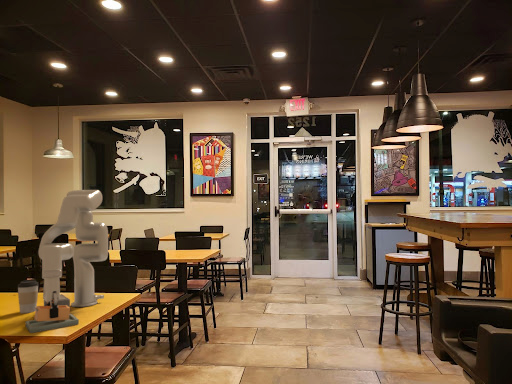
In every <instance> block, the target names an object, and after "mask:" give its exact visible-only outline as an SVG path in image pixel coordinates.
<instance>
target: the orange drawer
mask: <svg viewBox="0 0 512 384" xmlns="http://www.w3.org/2000/svg"><path fill="white" fill-rule="evenodd" d="M35 309H36V311H34V312H35V313H34V320H36V321H55V320H69V314H71V306H70V307H68V306H67V305H58V317H57V318H50V309H51V307H50V306H44V305H37V306H36V308H35Z"/></svg>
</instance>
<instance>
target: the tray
mask: <svg viewBox="0 0 512 384" xmlns="http://www.w3.org/2000/svg"><path fill="white" fill-rule="evenodd" d="M79 320H80V319H79V318H77V317H76V316H75V315H74V314H72V313H70V314H69V320H55V321H36V319H33V320H27V321H25V328H26V329H27V330H28V332H29V333H30V334H33V333H35V334H36V333H38V332H43V331H44V332H45V331H50V330H54V329H55V330H56V329H60V328H66V327H71V326H72V327H73V326H76V325H79Z"/></svg>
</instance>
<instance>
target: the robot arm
mask: <svg viewBox="0 0 512 384" xmlns="http://www.w3.org/2000/svg"><path fill="white" fill-rule="evenodd" d="M102 202H103V194H102V192H101V191H100V190H99V189H75V190H74V189H73V190H71V191H68V192H66V196H65V197H64V198H63V200H62V203H61V206H60V210H59V214H58V217H57V221H56V222H55V223H54V224H53V225H51V226H50V227H49V228H48V229H47V230H46V231H45V232H44V234H43V235H42V237H41V241H40V243H39V246H38V247H39V248H38V256H39V259H41V260H42V262H41V265H42V266H41V267H42V270H41V278H42V279H43V291H42V293H43V294H42V299H43V301H44V300H45V301H46V306H50V307H51V309H50V318H57V317H58V301H59V299H60V295H61V293H60V292H61V286H60V285H61V284H60V278H62V276H63V261H66V260H70V259H71V258H72V260H73V268H74V269H73V271H74V275H73V277H74V279H73V280H74V281H73V283H74V285H73V286H74V288H73V289H74V295H73V296H74V299H73V300H74V301H73V302H70V307H73V308H84V307H86V308H87V307H90V306H91V307H92V306H95V305H97V304H98V300H100V299H101V300H102V299H104V298H105V295H104V294H98V295H97V294H95V269H94V266H93V265H92V263H93V262H96V263H97V262H104V261H106V260H107V259H108V256H109V230H108V229H109V228H108V226H107V224H105V222H94V214H93V211H95V210H96V209H97V208H99V206H101V204H102ZM74 229H75V231H74V232H75V238H76V240H78V241H80V242H90V243H78V244H76V245H73V244H71V243H69V242H68V243H67V242H65V243H64V242H61V243H60V242H59V243H55V242H53V241H54V240H55V239H56V238H57V237H59V236H61V235H62V234H65V233H67V232H69V231H72V230H74ZM93 241H94V242H97V243H91V242H93ZM91 262H92V263H91Z"/></svg>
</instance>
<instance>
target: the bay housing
mask: <svg viewBox="0 0 512 384" xmlns="http://www.w3.org/2000/svg"><path fill="white" fill-rule="evenodd" d="M58 305H67V306H68V307H70V308H71V300H70V298H68V297H67V296H65V295H64V294H61V293H60V299H59V301H58ZM43 306H46V301H45V300H44V299H43Z"/></svg>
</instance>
